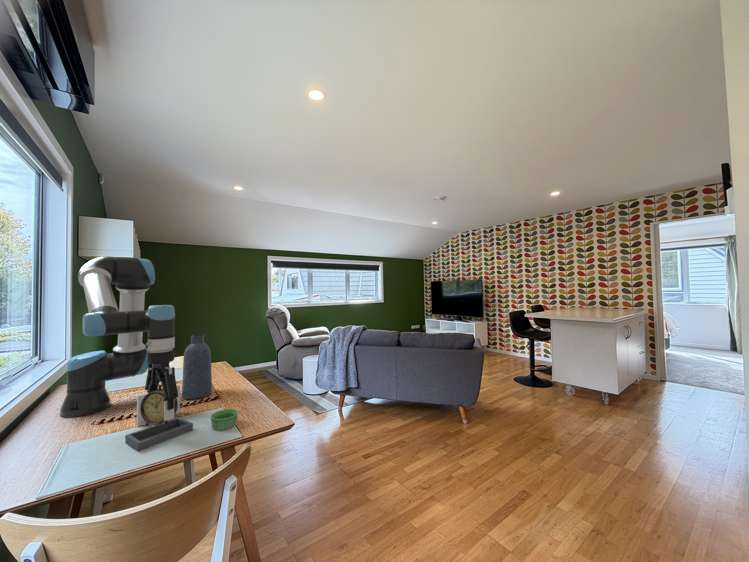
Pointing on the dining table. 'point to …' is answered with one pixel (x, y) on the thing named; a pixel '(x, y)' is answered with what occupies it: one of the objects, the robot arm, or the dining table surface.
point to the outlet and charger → (139, 399)
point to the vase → (197, 369)
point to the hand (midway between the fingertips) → (160, 415)
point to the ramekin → (224, 419)
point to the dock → (158, 434)
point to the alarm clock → (155, 407)
